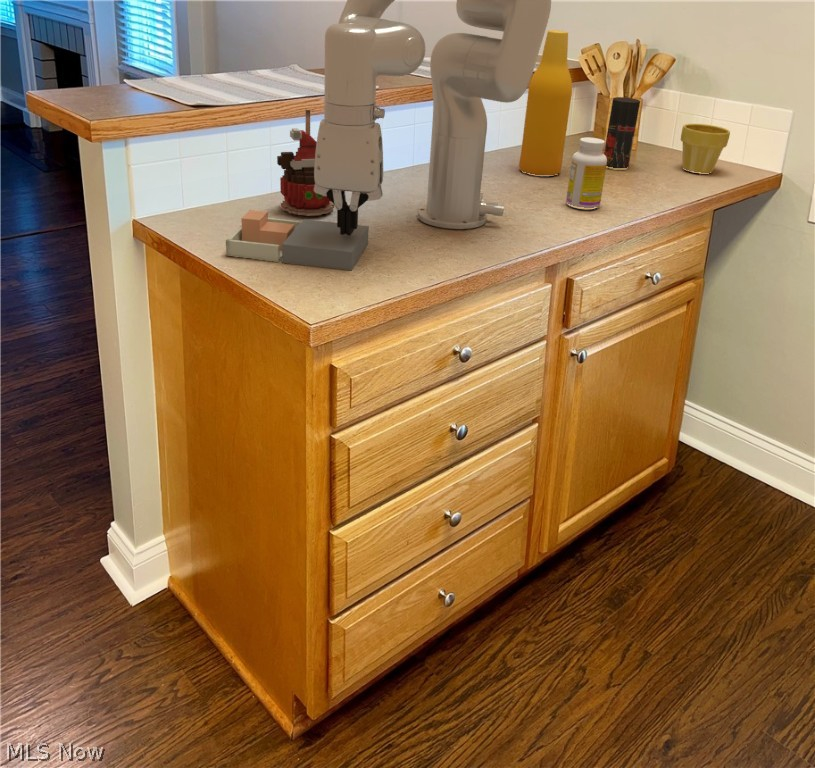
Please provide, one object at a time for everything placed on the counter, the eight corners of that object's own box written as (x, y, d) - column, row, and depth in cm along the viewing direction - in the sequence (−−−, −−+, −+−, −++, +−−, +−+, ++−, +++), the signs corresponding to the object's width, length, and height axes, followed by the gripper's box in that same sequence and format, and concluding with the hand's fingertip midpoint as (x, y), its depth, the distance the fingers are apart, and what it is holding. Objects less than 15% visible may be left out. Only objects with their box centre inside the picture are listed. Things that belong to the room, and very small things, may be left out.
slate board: (368, 243, 145) (368, 226, 143) (351, 270, 134) (352, 251, 132) (303, 236, 146) (303, 219, 145) (282, 262, 135) (282, 244, 134)
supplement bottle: (606, 207, 171) (617, 141, 165) (587, 213, 167) (598, 146, 161) (577, 199, 175) (587, 134, 169) (558, 204, 171) (568, 138, 165)
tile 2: (294, 242, 142) (294, 224, 141) (287, 251, 138) (287, 233, 137) (267, 239, 143) (267, 221, 141) (259, 248, 139) (259, 230, 137)
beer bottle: (531, 164, 198) (548, 27, 184) (567, 172, 193) (588, 32, 180) (510, 171, 191) (527, 30, 177) (548, 180, 187) (568, 35, 173)
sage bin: (300, 236, 146) (300, 221, 145) (278, 262, 135) (278, 246, 134) (252, 230, 147) (251, 215, 146) (226, 256, 136) (225, 240, 135)
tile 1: (268, 211, 141) (250, 209, 141) (259, 220, 137) (241, 218, 137) (268, 238, 143) (250, 236, 143) (260, 247, 139) (242, 245, 140)
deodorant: (630, 171, 197) (642, 103, 190) (604, 169, 197) (615, 101, 190) (625, 164, 203) (637, 98, 195) (599, 163, 203) (610, 96, 195)
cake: (329, 202, 164) (330, 103, 156) (343, 217, 156) (345, 114, 148) (273, 204, 161) (271, 104, 152) (284, 220, 153) (283, 115, 144)
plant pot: (708, 165, 207) (718, 123, 202) (728, 177, 198) (738, 134, 193) (667, 164, 205) (675, 122, 200) (685, 176, 196) (694, 132, 191)
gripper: (403, 113, 131) (397, 230, 140) (307, 104, 133) (307, 220, 142) (394, 123, 125) (389, 245, 134) (293, 114, 127) (295, 235, 136)
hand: (347, 232), depth 138 cm, fingers closed
